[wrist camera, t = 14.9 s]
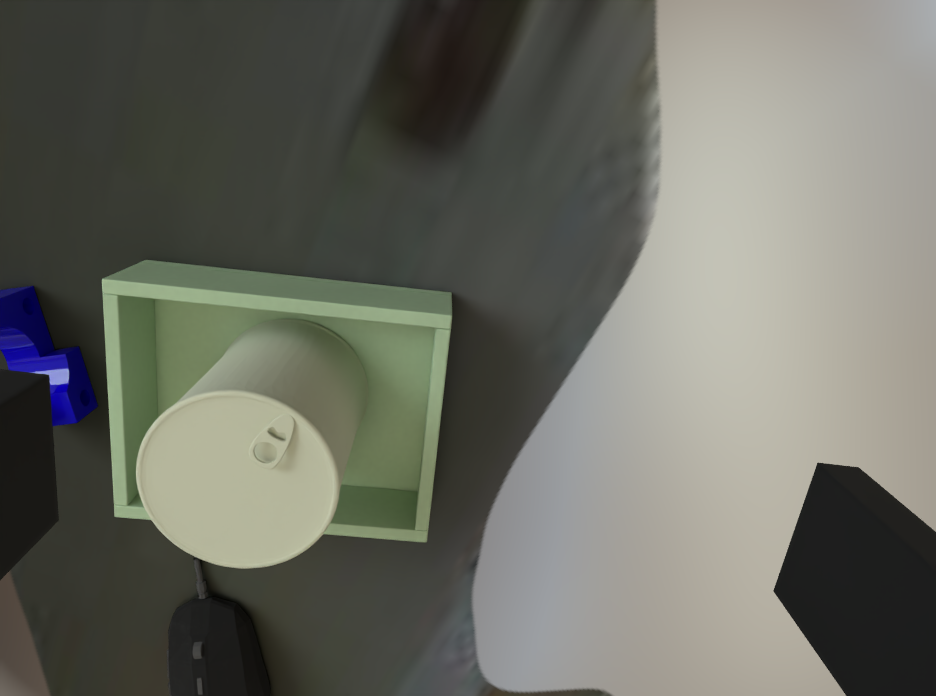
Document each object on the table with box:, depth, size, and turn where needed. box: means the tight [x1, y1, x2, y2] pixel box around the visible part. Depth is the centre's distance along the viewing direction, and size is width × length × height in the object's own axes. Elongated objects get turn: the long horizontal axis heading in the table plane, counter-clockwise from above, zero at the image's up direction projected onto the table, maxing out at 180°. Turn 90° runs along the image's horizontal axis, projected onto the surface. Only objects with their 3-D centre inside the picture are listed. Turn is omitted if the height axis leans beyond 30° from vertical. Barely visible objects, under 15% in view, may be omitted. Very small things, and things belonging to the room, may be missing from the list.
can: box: [136, 319, 368, 568], centre depth 35 cm, size 9×9×12 cm
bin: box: [102, 260, 452, 542], centre depth 39 cm, size 14×18×5 cm
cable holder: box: [0, 286, 98, 426], centre depth 39 cm, size 8×4×4 cm, turn 7°
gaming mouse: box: [167, 557, 270, 696], centre depth 46 cm, size 6×15×4 cm, turn 5°
